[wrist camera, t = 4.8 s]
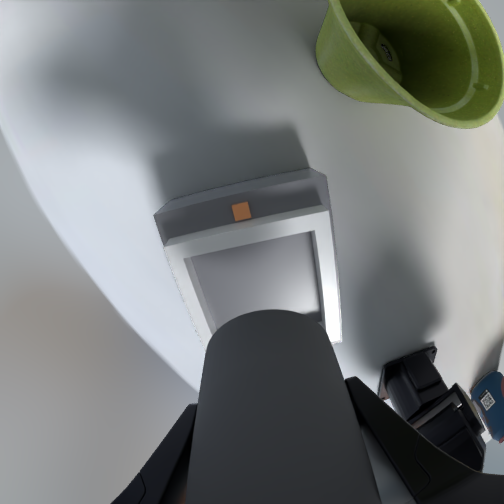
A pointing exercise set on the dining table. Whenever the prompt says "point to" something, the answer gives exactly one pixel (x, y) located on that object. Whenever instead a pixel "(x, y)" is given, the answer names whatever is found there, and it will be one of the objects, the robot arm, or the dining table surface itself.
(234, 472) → the lens
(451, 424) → the robot arm
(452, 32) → the plant pot
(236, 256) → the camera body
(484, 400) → the soda can
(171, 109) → the dining table surface
